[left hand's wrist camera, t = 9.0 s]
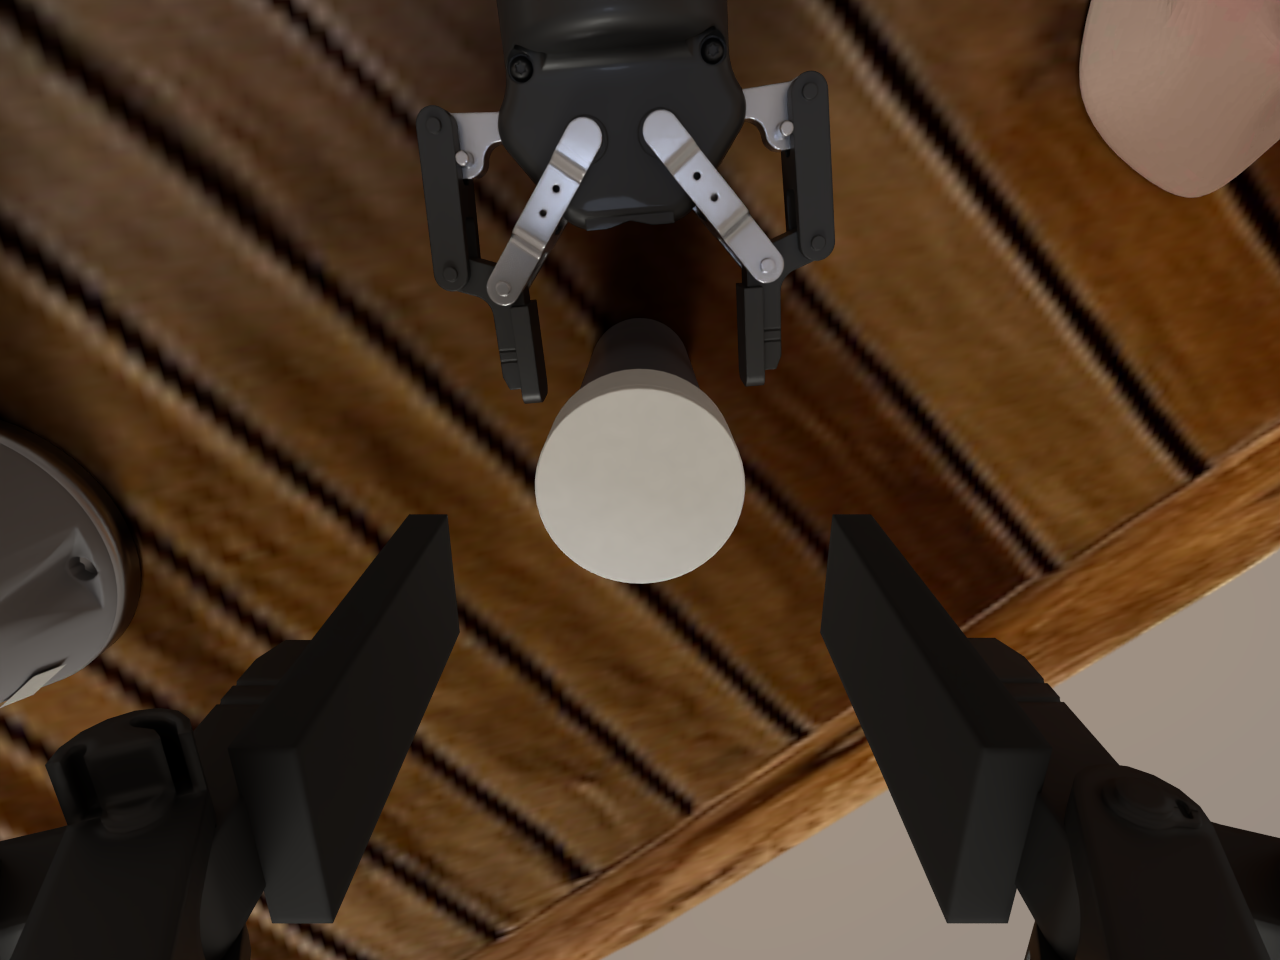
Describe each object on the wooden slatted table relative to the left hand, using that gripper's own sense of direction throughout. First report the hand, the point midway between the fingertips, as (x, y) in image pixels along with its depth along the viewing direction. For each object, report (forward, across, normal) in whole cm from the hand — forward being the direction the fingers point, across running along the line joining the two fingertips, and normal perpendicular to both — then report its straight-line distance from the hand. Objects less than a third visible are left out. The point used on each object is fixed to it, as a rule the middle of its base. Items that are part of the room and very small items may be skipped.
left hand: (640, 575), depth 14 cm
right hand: (+14, 0, 0) cm, 14 cm away
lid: (+5, 0, 0) cm, 5 cm away
